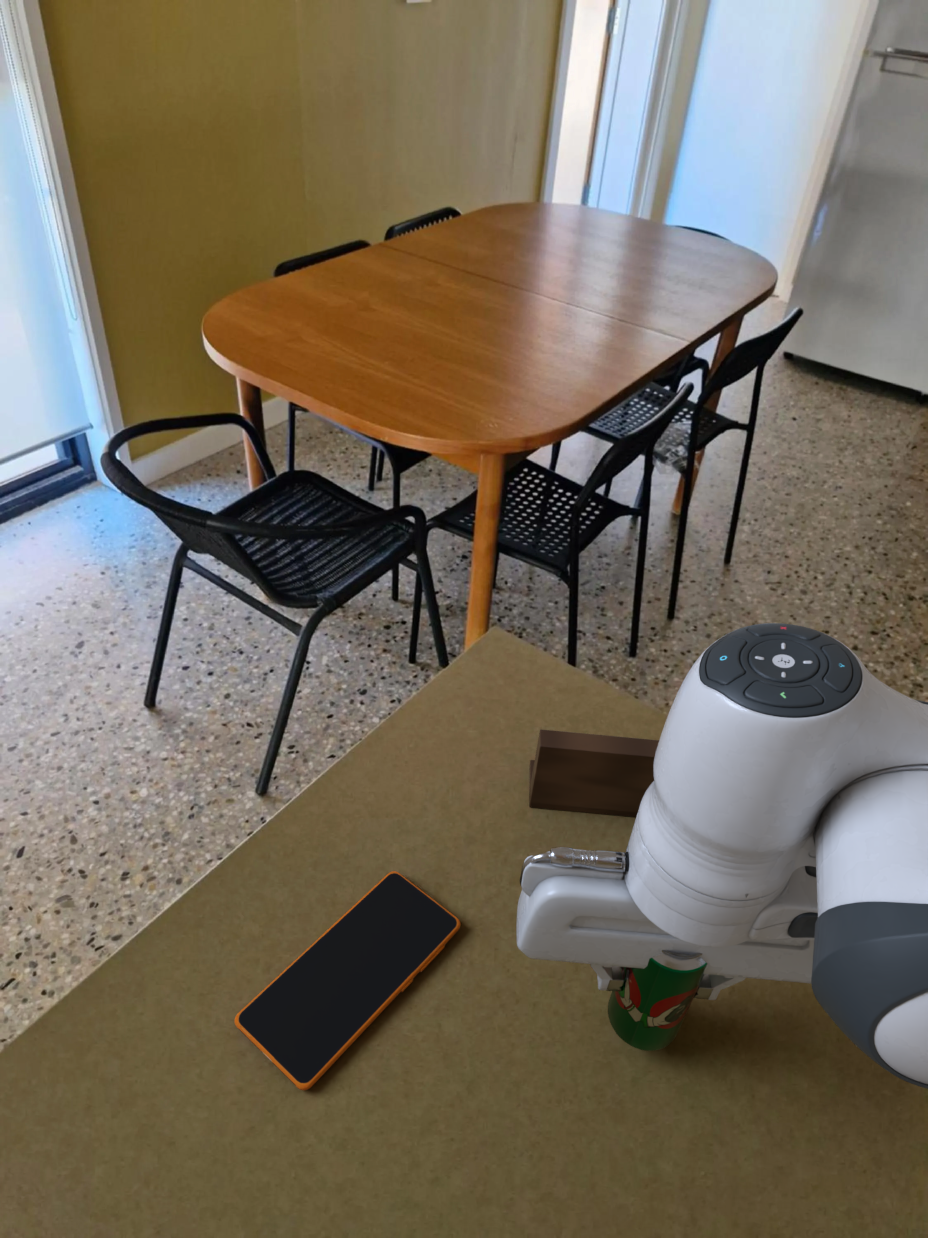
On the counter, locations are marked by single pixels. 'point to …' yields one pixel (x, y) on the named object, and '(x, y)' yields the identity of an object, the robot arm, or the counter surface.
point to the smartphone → (346, 979)
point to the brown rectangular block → (590, 772)
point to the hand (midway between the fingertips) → (655, 985)
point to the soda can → (655, 999)
